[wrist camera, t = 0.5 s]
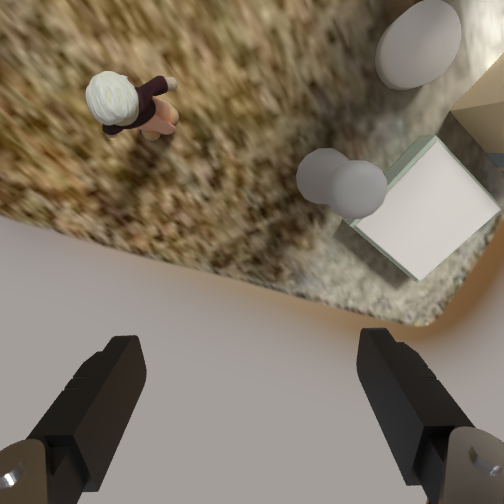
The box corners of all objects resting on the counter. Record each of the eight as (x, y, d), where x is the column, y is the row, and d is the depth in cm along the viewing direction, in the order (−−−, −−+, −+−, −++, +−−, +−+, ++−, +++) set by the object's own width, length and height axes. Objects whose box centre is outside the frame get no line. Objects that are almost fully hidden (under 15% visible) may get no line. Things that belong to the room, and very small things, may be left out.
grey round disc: (410, -3, 26) (430, -21, 23) (452, 48, 27) (475, 37, 24) (361, 60, 28) (373, 51, 25) (402, 105, 29) (419, 100, 26)
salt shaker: (352, 178, 32) (417, 200, 20) (311, 209, 33) (349, 247, 21) (324, 135, 30) (377, 130, 18) (282, 170, 31) (305, 186, 19)
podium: (420, 135, 30) (438, 134, 27) (484, 203, 33) (506, 208, 30) (342, 219, 33) (350, 226, 31) (406, 274, 36) (419, 285, 33)
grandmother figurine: (153, 158, 30) (94, 166, 19) (125, 130, 29) (42, 122, 18) (200, 103, 29) (166, 75, 17) (171, 72, 27) (114, 19, 16)
